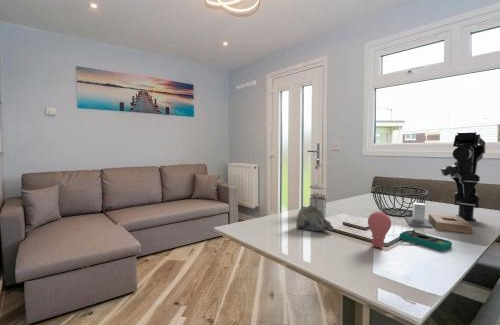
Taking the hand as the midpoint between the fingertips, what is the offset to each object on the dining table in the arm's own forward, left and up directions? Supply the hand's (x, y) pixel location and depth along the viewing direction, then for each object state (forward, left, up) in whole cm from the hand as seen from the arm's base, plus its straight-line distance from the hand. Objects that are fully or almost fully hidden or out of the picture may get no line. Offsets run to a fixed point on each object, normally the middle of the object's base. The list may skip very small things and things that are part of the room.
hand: (462, 195), depth 122 cm
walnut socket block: (+7, -6, -13) cm, 16 cm away
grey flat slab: (+7, -17, -13) cm, 23 cm away
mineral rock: (+40, -58, -13) cm, 72 cm away
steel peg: (+7, -17, -12) cm, 22 cm away
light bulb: (+48, -35, -13) cm, 61 cm away
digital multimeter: (+36, -20, -14) cm, 44 cm away
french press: (+15, -61, -13) cm, 64 cm away
